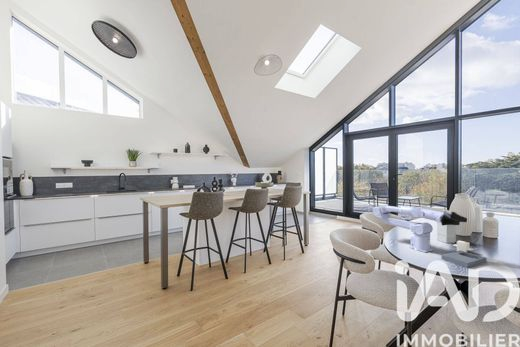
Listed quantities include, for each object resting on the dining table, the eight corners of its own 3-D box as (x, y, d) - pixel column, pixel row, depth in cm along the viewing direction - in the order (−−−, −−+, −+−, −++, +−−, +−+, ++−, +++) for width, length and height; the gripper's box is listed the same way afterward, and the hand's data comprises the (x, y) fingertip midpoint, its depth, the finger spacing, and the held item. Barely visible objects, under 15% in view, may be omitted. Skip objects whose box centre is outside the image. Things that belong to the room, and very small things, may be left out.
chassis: (441, 259, 133) (441, 254, 133) (460, 254, 140) (460, 250, 140) (467, 267, 122) (467, 263, 122) (486, 262, 129) (486, 257, 129)
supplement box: (456, 242, 161) (456, 223, 161) (446, 243, 160) (446, 223, 159) (445, 239, 168) (446, 220, 168) (436, 239, 167) (436, 221, 167)
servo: (452, 249, 148) (452, 239, 148) (455, 249, 149) (455, 238, 149) (470, 254, 140) (470, 243, 139) (473, 254, 141) (473, 243, 141)
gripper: (427, 211, 138) (456, 216, 126) (441, 206, 145) (470, 211, 133) (427, 223, 139) (455, 230, 127) (441, 218, 146) (469, 224, 134)
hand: (463, 221), depth 130 cm, fingers open, 7 cm apart
